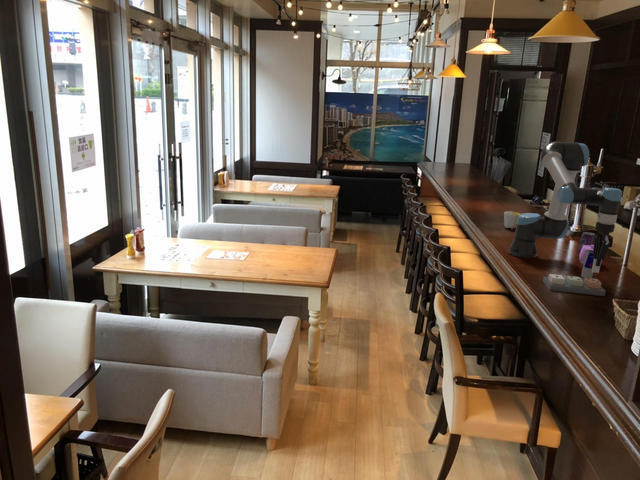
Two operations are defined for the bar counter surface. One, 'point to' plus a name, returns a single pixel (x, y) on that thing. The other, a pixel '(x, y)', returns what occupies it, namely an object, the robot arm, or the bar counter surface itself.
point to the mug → (510, 219)
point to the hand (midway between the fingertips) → (595, 272)
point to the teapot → (583, 252)
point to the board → (574, 288)
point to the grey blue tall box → (588, 265)
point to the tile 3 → (592, 283)
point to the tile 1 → (556, 279)
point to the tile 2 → (574, 281)
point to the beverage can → (586, 239)
